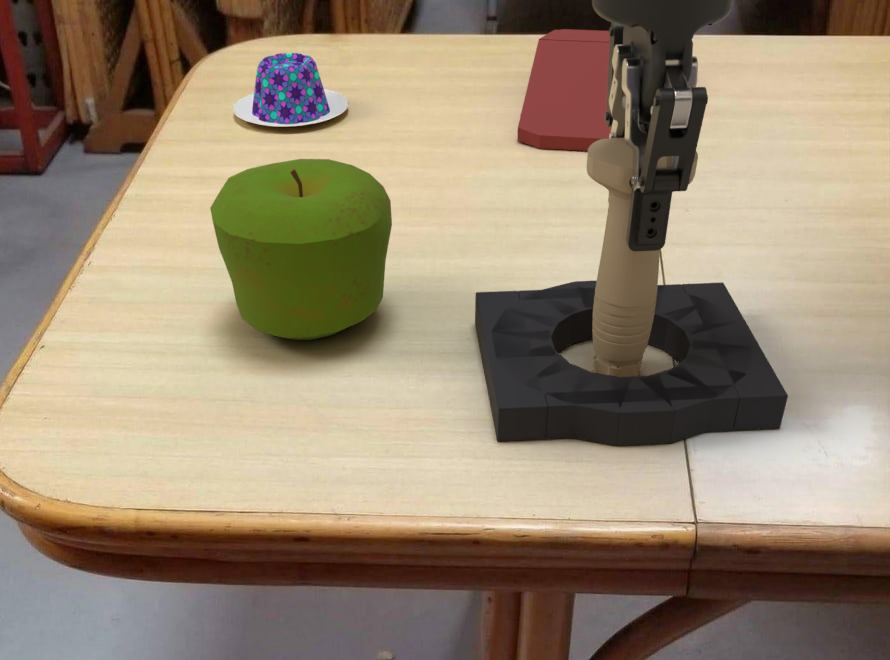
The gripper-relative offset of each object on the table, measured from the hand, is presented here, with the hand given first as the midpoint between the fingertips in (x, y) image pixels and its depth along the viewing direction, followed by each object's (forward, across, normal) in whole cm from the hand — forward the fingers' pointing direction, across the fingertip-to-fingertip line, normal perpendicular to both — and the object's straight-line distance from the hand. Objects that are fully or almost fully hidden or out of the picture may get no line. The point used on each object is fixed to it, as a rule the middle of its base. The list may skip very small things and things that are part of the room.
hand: (634, 226), depth 66 cm
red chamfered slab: (+11, +52, -7) cm, 54 cm away
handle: (+11, 0, 0) cm, 11 cm away
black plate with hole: (+10, 0, 0) cm, 10 cm away
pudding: (+11, +53, +24) cm, 59 cm away
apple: (+11, +9, +21) cm, 25 cm away
